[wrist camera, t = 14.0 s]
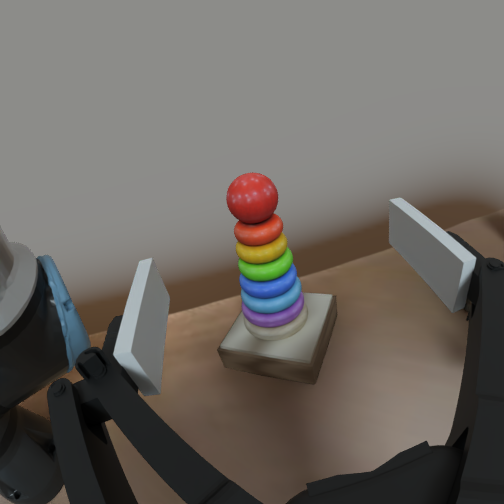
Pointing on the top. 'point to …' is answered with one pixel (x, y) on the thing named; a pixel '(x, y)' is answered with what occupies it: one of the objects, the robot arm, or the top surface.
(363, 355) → the top surface
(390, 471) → the robot arm
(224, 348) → the pedestal
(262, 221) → the stacking toy
